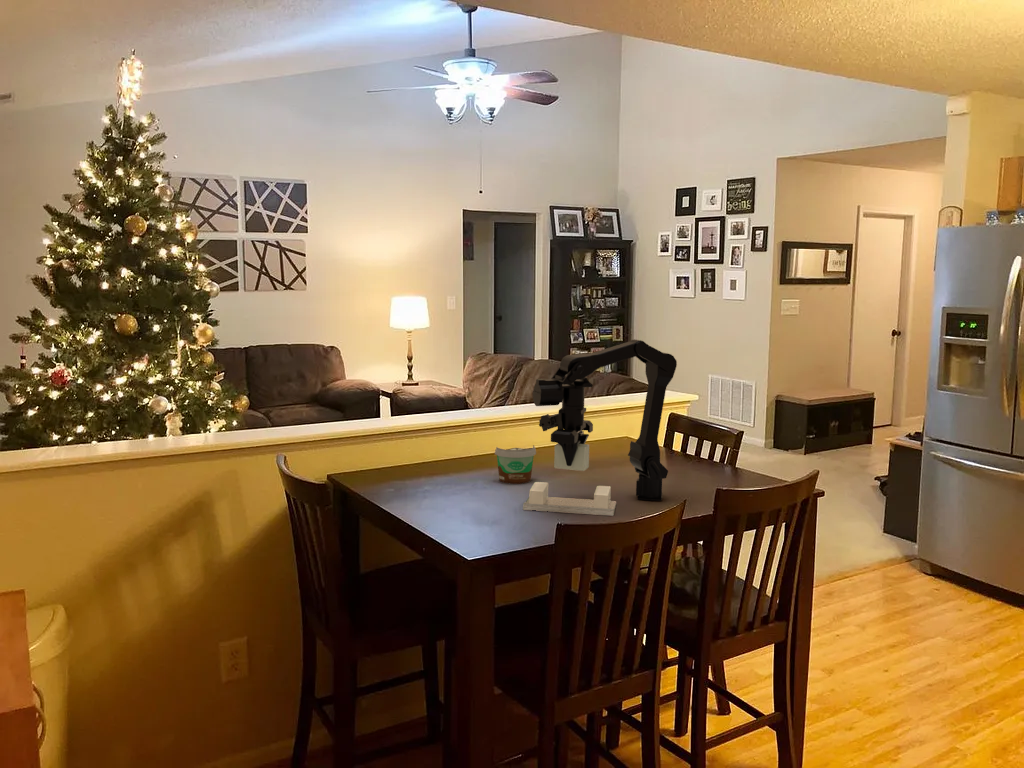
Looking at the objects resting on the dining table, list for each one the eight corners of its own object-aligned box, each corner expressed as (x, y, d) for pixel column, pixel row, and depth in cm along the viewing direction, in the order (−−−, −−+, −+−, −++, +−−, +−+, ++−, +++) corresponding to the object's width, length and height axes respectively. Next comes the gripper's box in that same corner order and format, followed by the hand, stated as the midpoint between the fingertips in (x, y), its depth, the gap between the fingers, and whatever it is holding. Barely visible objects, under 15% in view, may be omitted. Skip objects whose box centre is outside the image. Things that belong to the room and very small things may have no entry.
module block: (559, 464, 220) (559, 442, 219) (588, 467, 217) (589, 444, 216) (554, 468, 215) (554, 445, 215) (584, 471, 213) (584, 448, 212)
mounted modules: (610, 501, 218) (610, 486, 217) (607, 511, 209) (608, 495, 209) (535, 496, 222) (535, 481, 221) (529, 505, 213) (529, 490, 212)
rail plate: (616, 504, 218) (616, 498, 218) (613, 515, 208) (613, 509, 208) (529, 499, 223) (529, 493, 222) (523, 509, 213) (523, 503, 213)
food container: (499, 486, 236) (499, 451, 234) (494, 480, 242) (494, 447, 240) (541, 483, 239) (541, 449, 238) (534, 478, 245) (535, 445, 243)
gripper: (554, 397, 225) (553, 453, 227) (531, 407, 208) (530, 468, 210) (594, 400, 221) (592, 457, 224) (574, 411, 204) (573, 473, 206)
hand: (571, 463), depth 216 cm, fingers closed on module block, 4 cm apart
